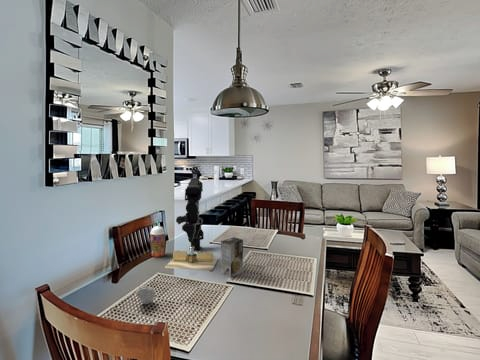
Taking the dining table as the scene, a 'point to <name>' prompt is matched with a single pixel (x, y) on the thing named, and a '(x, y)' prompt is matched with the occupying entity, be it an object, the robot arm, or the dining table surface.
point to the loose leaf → (205, 256)
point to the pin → (191, 250)
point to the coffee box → (231, 257)
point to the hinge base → (184, 256)
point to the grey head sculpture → (145, 294)
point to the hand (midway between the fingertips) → (193, 239)
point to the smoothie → (157, 241)
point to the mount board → (192, 265)
